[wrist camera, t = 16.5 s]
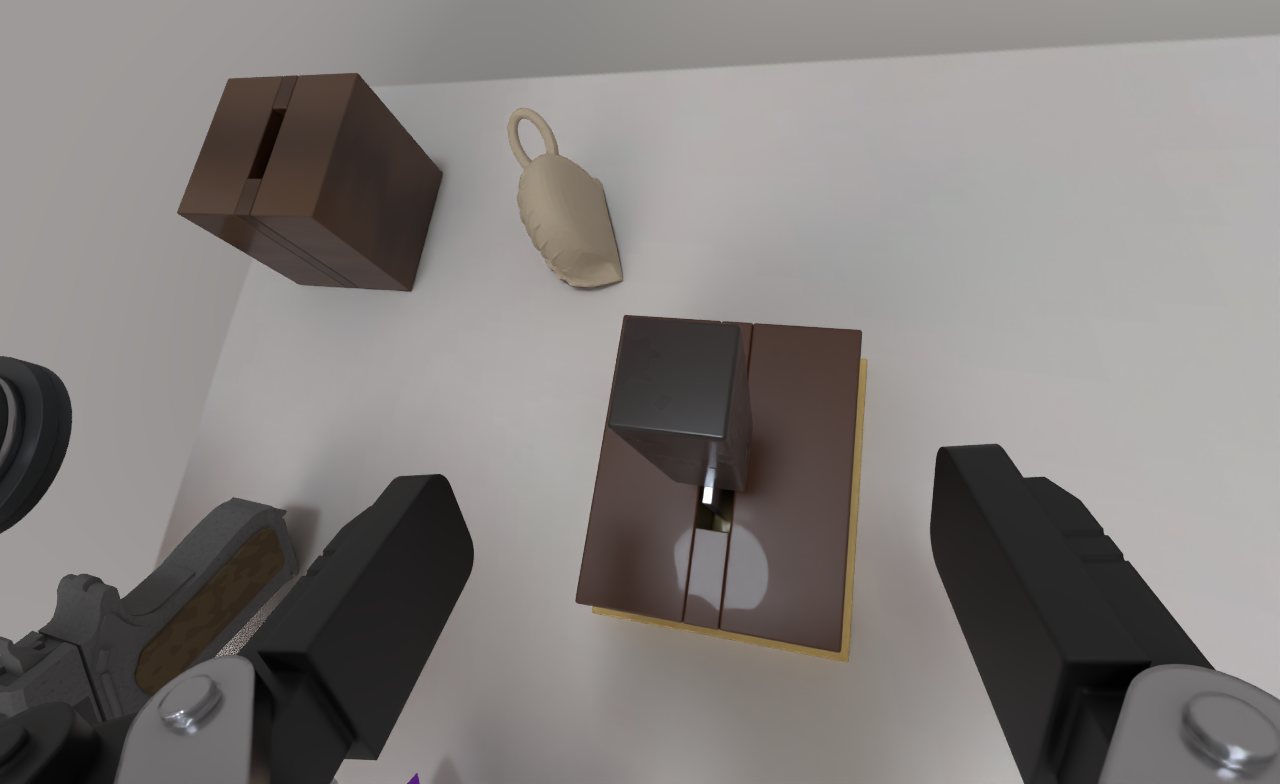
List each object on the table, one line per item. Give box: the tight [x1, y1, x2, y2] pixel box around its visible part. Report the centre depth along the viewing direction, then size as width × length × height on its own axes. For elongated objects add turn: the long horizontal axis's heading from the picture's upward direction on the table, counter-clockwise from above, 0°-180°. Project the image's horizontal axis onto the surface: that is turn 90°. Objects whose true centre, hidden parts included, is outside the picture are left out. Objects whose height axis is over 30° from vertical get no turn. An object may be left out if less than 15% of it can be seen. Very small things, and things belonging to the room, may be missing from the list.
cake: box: [575, 315, 867, 662], centre depth 23 cm, size 13×11×9 cm
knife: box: [607, 317, 753, 522], centre depth 19 cm, size 3×2×17 cm
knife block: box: [177, 73, 442, 291], centre depth 33 cm, size 8×8×8 cm
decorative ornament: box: [508, 108, 623, 287], centre depth 31 cm, size 4×8×5 cm, turn 11°
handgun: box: [0, 497, 299, 726], centre depth 27 cm, size 3×18×12 cm
